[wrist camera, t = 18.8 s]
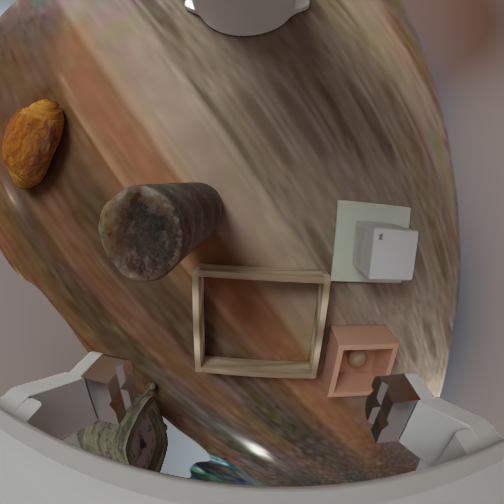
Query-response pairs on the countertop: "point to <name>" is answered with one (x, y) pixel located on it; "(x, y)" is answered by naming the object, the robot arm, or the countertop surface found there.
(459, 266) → the countertop surface
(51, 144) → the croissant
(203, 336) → the crate
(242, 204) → the countertop surface
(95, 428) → the tabletop clock
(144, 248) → the grey brown tall cylinder
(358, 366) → the cork ball
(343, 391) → the pot
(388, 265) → the product box
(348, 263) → the plate
